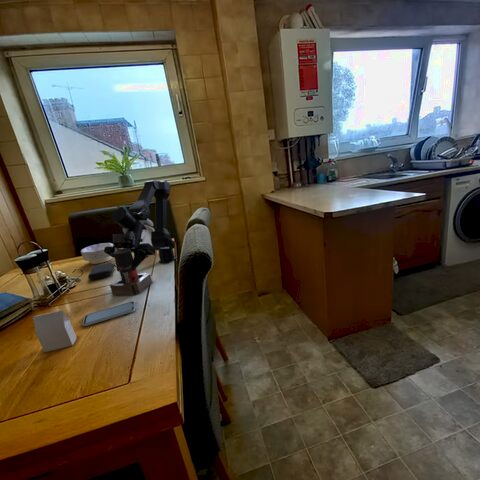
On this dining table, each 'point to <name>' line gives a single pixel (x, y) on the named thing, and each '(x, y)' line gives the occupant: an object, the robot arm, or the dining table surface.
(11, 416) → the dining table surface
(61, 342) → the white angled block
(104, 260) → the paper bowls
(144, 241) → the alarm clock
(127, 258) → the deodorant
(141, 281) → the holder
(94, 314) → the smartphone
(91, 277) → the carrying case
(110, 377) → the dining table surface
